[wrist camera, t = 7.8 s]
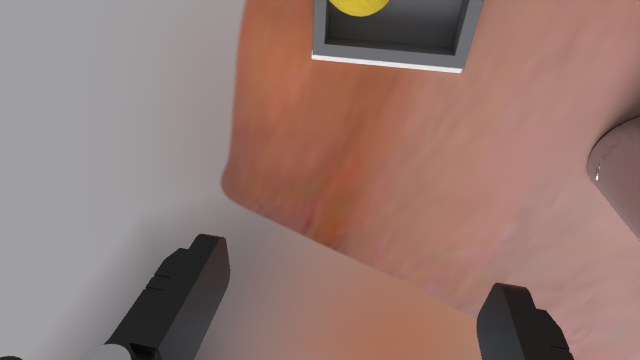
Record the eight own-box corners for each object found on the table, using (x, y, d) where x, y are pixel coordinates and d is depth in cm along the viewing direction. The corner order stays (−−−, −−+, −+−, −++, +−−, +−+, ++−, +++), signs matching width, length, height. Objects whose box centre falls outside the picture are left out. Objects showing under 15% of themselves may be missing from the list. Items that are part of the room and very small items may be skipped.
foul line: (462, 63, 33) (463, 64, 32) (460, 72, 33) (460, 73, 33) (312, 49, 34) (312, 50, 34) (312, 58, 34) (311, 59, 34)
